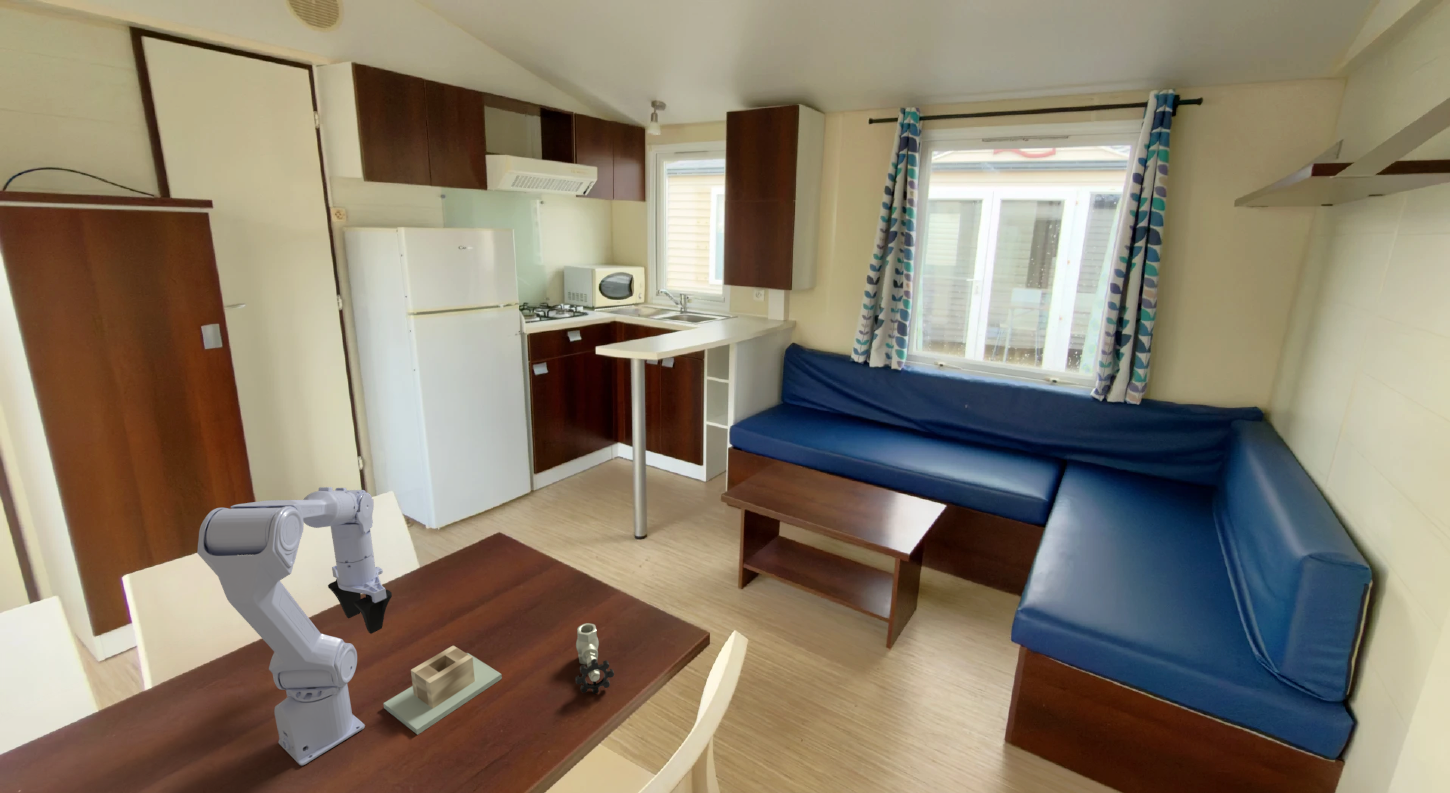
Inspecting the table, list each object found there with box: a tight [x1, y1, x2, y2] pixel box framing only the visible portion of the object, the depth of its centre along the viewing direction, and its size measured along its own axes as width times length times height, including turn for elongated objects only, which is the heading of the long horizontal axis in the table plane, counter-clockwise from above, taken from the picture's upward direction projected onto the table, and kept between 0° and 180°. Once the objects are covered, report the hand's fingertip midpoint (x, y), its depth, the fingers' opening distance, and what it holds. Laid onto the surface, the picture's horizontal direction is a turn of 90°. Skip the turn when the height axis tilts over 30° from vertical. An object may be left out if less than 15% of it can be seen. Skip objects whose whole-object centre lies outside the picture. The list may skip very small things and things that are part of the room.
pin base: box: [383, 652, 503, 736], centre depth 109 cm, size 16×10×4 cm, turn 146°
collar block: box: [410, 645, 475, 708], centre depth 109 cm, size 8×6×5 cm
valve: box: [575, 622, 615, 695], centre depth 115 cm, size 7×7×12 cm
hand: (364, 622), depth 113 cm, fingers open, 7 cm apart
